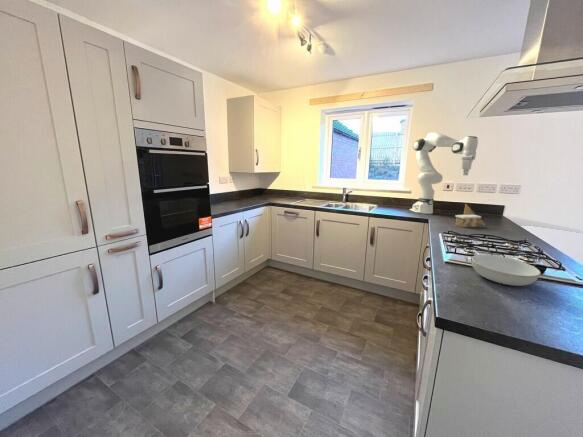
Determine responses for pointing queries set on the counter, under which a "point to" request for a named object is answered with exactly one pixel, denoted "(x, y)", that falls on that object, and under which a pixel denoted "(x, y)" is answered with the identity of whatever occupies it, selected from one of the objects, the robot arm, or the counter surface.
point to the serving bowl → (505, 270)
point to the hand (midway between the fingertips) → (465, 175)
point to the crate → (467, 222)
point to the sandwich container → (471, 213)
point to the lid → (468, 216)
